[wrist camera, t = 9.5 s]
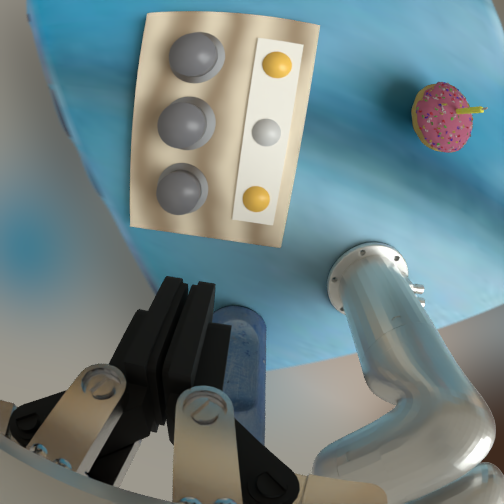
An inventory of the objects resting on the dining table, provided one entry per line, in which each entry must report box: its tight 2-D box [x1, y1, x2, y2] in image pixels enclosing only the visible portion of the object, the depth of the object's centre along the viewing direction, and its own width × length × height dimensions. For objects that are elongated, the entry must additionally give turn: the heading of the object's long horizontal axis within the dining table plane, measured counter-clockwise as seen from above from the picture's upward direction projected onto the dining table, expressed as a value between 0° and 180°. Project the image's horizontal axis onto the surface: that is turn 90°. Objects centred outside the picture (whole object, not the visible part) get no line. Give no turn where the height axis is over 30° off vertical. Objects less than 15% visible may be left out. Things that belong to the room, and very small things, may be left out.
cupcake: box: [411, 82, 488, 152], centre depth 26 cm, size 9×8×12 cm
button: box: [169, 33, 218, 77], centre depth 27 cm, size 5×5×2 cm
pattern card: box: [232, 38, 304, 225], centre depth 33 cm, size 5×22×1 cm, turn 172°
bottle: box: [212, 306, 266, 445], centre depth 35 cm, size 10×10×30 cm
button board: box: [130, 11, 320, 248], centre depth 33 cm, size 20×28×2 cm
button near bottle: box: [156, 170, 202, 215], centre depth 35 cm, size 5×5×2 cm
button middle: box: [157, 102, 207, 149], centre depth 30 cm, size 5×5×2 cm
